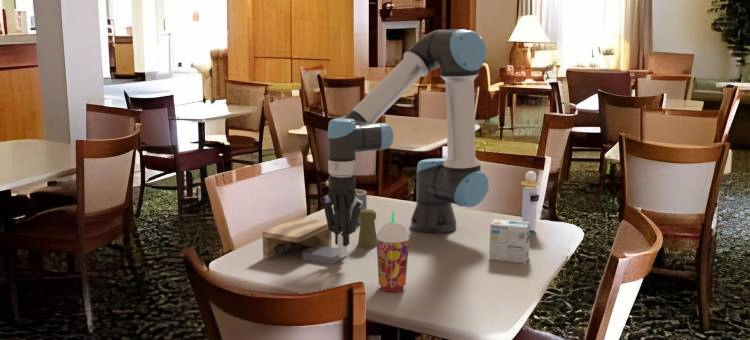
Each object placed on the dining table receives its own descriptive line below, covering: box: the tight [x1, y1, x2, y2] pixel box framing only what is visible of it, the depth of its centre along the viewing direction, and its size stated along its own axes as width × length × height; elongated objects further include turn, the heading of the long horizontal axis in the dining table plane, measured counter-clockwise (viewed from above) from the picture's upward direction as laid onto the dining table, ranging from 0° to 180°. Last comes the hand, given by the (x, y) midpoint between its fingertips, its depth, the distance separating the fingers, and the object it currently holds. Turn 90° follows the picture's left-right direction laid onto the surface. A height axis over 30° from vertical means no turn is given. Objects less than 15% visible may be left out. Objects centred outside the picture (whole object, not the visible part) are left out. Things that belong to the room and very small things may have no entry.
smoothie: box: [376, 211, 410, 293], centre depth 182 cm, size 8×8×20 cm
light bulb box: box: [488, 218, 531, 264], centre depth 207 cm, size 11×7×11 cm, turn 71°
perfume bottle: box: [521, 170, 541, 232], centre depth 235 cm, size 6×6×20 cm
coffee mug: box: [350, 188, 368, 225], centre depth 249 cm, size 13×10×10 cm
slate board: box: [301, 245, 348, 266], centre depth 207 cm, size 10×8×2 cm
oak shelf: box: [262, 216, 333, 260], centre depth 211 cm, size 12×18×8 cm, turn 153°
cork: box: [357, 208, 377, 249], centre depth 219 cm, size 6×6×11 cm
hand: (342, 256), depth 204 cm, fingers closed
